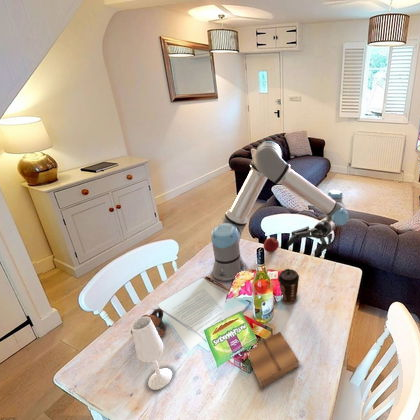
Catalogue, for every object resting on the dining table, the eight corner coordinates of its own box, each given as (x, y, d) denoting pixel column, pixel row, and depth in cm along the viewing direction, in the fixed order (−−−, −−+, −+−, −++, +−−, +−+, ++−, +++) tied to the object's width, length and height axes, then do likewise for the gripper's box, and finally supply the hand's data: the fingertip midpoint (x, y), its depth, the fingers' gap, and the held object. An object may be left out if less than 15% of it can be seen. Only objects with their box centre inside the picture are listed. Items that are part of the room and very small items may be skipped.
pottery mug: (160, 345, 95) (141, 334, 90) (142, 348, 98) (123, 338, 93) (175, 313, 104) (159, 302, 99) (158, 316, 107) (142, 306, 102)
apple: (273, 256, 143) (272, 244, 139) (261, 252, 146) (260, 239, 143) (281, 249, 149) (281, 237, 145) (269, 245, 152) (269, 233, 149)
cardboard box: (246, 354, 92) (245, 348, 90) (280, 337, 98) (279, 331, 97) (261, 388, 82) (261, 381, 80) (298, 366, 88) (298, 360, 87)
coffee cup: (288, 288, 121) (287, 265, 116) (303, 296, 117) (303, 272, 111) (275, 299, 115) (274, 275, 109) (290, 308, 111) (290, 284, 105)
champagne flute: (166, 364, 88) (148, 309, 78) (176, 377, 84) (159, 322, 74) (144, 379, 83) (122, 324, 73) (153, 394, 79) (132, 338, 69)
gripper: (347, 241, 127) (326, 265, 111) (302, 227, 138) (278, 247, 122) (348, 227, 124) (327, 250, 107) (302, 214, 135) (277, 233, 119)
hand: (301, 248), depth 115 cm, fingers open, 13 cm apart
